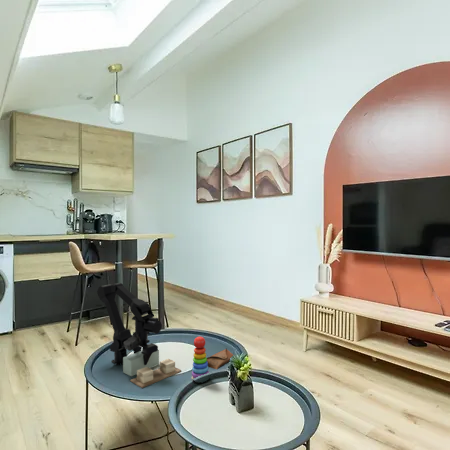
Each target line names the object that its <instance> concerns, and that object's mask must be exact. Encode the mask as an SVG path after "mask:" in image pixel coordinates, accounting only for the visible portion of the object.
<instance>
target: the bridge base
mask: <svg viewBox="0 0 450 450" xmlns="http://www.w3.org/2000/svg"><path fill="white" fill-rule="evenodd" d="M180 372H182V370H181V369H180V368H177V367H176V361H175V360H173V359H171V358H166V359H164V360H161V361H159V368H157V369H152V368H148V367H145V368H142V369H140V370H137V374H136V377H135V378H132V379H129V380H130V382H131V383H133V384H134V385H136V386H137V387H139V388H140V389H143V388H146V387H149V386H151V385H153V384H155V383H157V382H160V381H163V380H164V379H167V378H170V377H171V376H174V375H176V374H178V373H180Z"/></svg>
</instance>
